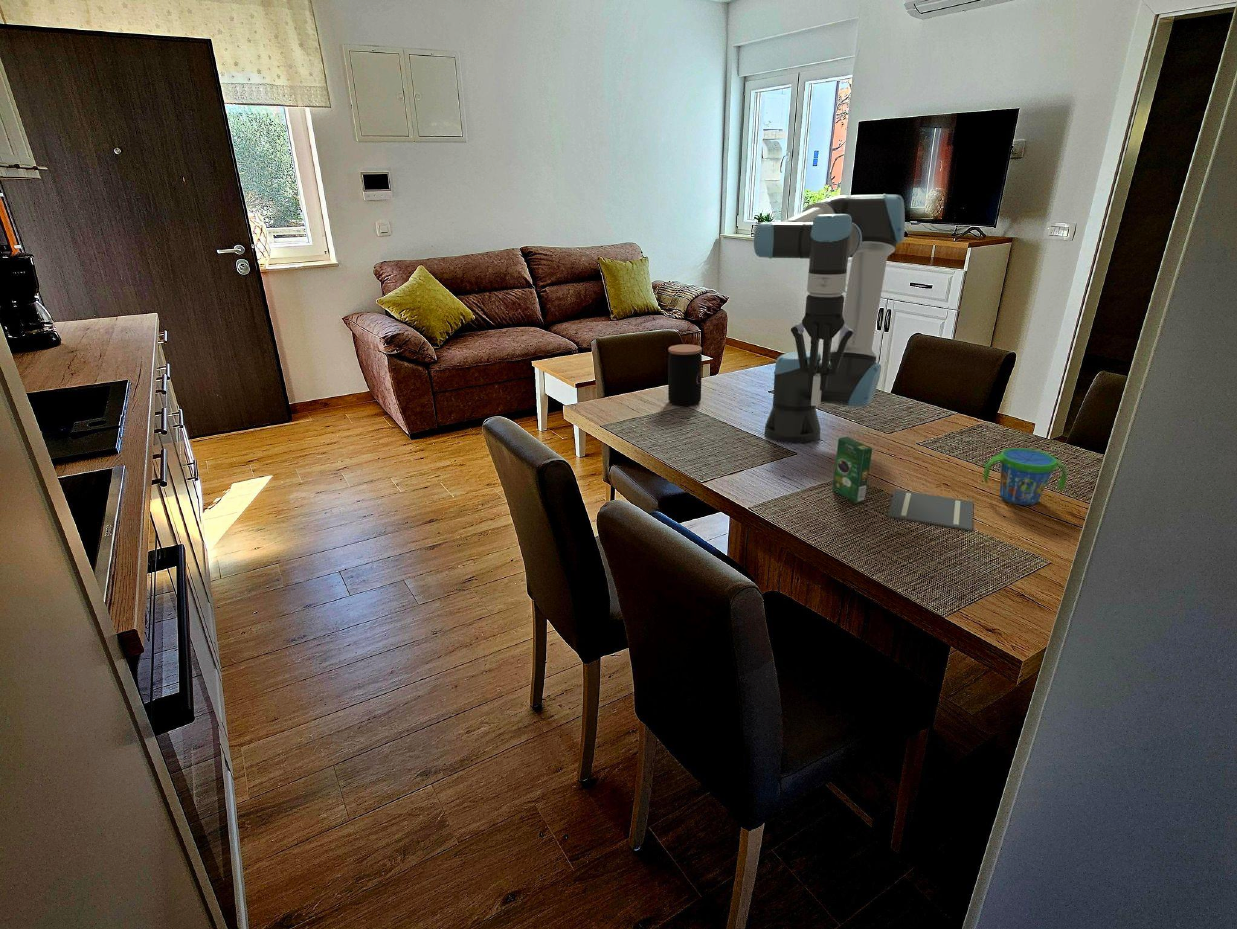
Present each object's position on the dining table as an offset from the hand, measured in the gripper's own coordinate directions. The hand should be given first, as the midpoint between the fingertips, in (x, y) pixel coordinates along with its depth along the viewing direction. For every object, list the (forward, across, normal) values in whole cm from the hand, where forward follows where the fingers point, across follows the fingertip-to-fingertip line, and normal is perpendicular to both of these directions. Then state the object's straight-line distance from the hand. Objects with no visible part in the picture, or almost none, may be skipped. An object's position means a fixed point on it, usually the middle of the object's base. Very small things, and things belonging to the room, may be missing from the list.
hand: (815, 403), depth 147 cm
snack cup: (+21, +43, +13) cm, 50 cm away
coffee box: (+21, +9, 0) cm, 23 cm away
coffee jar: (+21, -51, +52) cm, 76 cm away
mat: (+21, +26, 0) cm, 33 cm away
